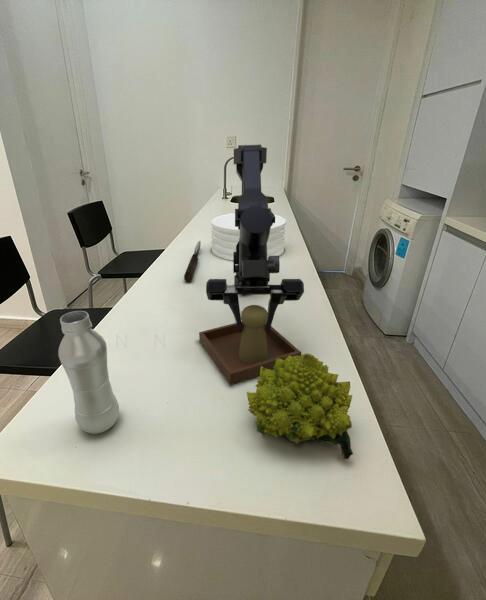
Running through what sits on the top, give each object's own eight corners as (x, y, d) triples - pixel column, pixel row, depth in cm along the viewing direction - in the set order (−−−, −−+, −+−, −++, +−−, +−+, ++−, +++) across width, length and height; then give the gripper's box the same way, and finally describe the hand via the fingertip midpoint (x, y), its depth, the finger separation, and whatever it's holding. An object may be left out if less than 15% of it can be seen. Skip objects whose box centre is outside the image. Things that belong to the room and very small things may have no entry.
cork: (273, 359, 66) (277, 312, 61) (246, 367, 64) (247, 319, 59) (259, 343, 71) (261, 298, 66) (233, 350, 69) (233, 304, 64)
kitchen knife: (183, 267, 101) (184, 282, 103) (190, 267, 101) (191, 282, 103) (197, 235, 133) (198, 247, 135) (202, 235, 132) (203, 247, 135)
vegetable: (390, 453, 43) (335, 361, 40) (283, 493, 47) (227, 411, 45) (357, 391, 57) (315, 320, 54) (277, 426, 61) (234, 361, 59)
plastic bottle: (84, 410, 57) (56, 307, 47) (124, 406, 57) (104, 304, 48) (73, 441, 51) (39, 331, 42) (118, 437, 51) (94, 327, 42)
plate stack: (199, 246, 135) (198, 218, 130) (253, 235, 147) (254, 209, 142) (239, 267, 113) (239, 234, 108) (299, 251, 126) (302, 221, 120)
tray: (259, 325, 79) (260, 316, 78) (300, 362, 66) (301, 352, 65) (199, 341, 74) (198, 332, 73) (230, 385, 61) (230, 374, 60)
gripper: (204, 239, 61) (202, 321, 57) (307, 238, 60) (313, 322, 55) (209, 264, 72) (207, 334, 67) (296, 263, 70) (300, 335, 66)
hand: (254, 332), depth 63 cm, fingers closed on cork, 5 cm apart
